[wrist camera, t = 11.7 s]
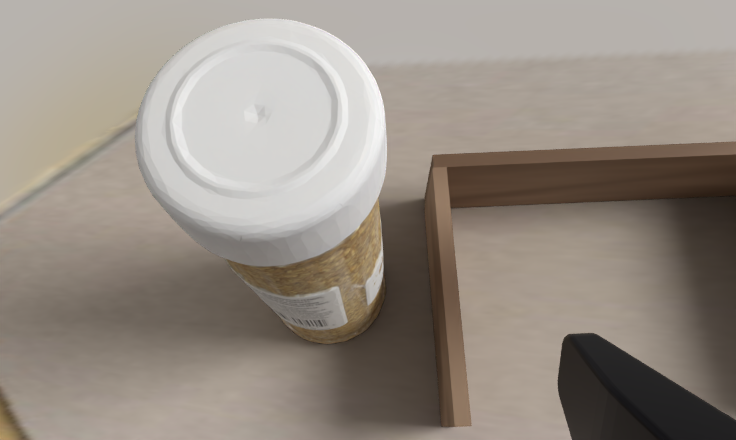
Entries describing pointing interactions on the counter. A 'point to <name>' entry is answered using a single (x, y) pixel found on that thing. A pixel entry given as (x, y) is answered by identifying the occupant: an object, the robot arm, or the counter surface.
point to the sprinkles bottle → (275, 167)
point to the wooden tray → (545, 186)
